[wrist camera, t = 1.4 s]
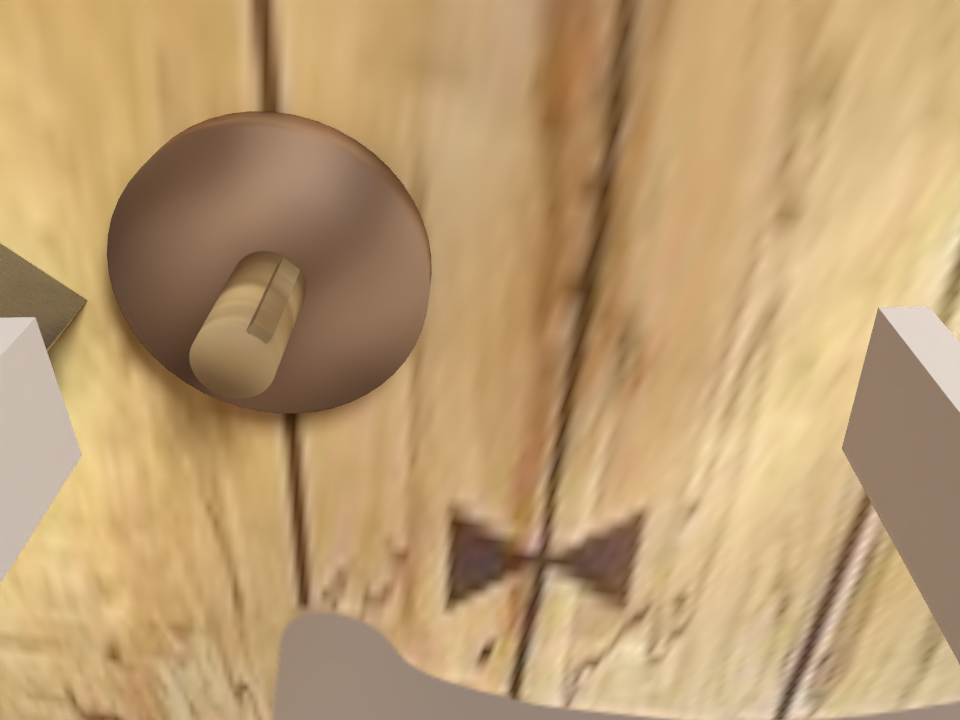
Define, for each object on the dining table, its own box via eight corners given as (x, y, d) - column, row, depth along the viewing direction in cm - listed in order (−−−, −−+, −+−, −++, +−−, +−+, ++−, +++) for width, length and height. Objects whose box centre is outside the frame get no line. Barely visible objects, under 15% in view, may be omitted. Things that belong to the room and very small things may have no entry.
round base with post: (69, 272, 38) (-24, 373, 31) (236, 39, 32) (168, 100, 26) (313, 434, 42) (279, 553, 35) (494, 253, 37) (495, 353, 30)
